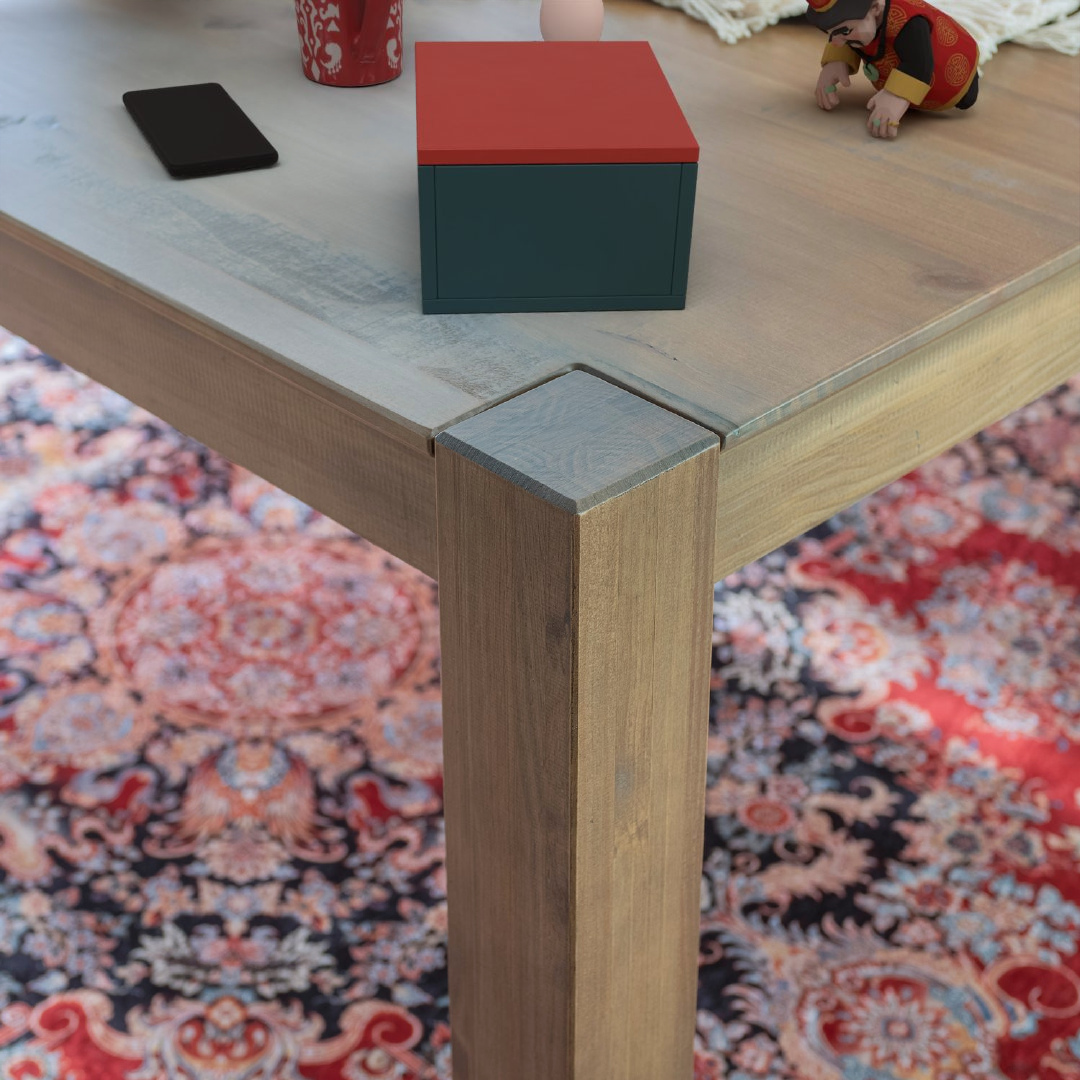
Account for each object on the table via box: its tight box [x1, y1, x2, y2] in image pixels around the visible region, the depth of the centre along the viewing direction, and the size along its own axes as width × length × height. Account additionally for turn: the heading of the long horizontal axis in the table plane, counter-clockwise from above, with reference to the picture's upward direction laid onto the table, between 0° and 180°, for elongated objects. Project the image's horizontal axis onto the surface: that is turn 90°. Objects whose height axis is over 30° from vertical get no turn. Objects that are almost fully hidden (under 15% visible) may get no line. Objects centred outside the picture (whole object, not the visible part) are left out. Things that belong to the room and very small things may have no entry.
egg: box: [539, 0, 605, 41], centre depth 103 cm, size 5×5×7 cm
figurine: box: [805, 0, 981, 139], centre depth 93 cm, size 10×10×15 cm
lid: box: [414, 40, 701, 165], centre depth 73 cm, size 17×14×1 cm
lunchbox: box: [416, 162, 699, 314], centre depth 75 cm, size 17×14×8 cm
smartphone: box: [121, 82, 280, 178], centre depth 90 cm, size 7×1×15 cm
